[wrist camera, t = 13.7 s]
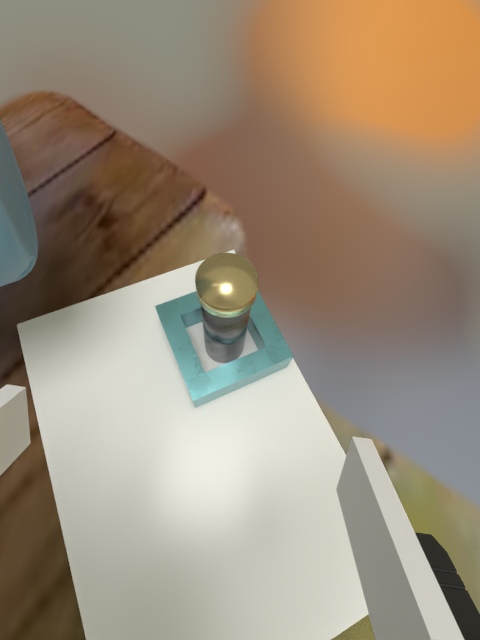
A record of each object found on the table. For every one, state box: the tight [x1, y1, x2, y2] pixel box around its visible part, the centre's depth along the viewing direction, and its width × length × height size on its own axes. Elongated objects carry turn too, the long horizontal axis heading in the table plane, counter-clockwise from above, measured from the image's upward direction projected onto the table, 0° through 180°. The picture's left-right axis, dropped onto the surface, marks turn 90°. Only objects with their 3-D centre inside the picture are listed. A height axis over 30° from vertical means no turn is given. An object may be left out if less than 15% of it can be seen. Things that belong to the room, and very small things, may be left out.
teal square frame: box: [155, 290, 294, 408], centre depth 31 cm, size 9×9×3 cm
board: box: [17, 250, 369, 640], centre depth 29 cm, size 32×22×1 cm
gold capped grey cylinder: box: [195, 253, 259, 363], centre depth 27 cm, size 4×4×12 cm
